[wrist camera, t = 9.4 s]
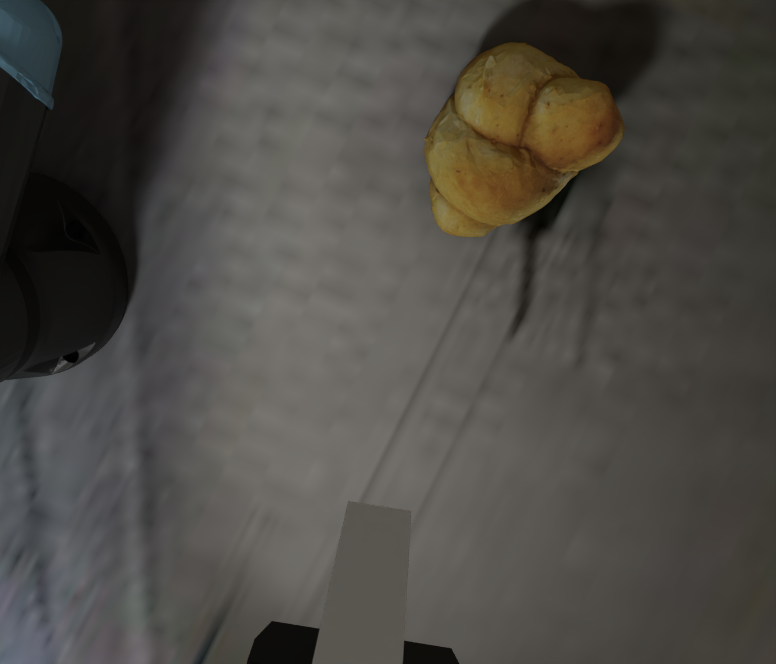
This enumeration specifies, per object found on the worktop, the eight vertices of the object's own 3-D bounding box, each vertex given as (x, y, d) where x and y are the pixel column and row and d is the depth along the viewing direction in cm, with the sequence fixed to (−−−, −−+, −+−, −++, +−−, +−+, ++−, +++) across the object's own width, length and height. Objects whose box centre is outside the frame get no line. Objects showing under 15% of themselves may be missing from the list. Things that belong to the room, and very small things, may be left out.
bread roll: (479, 260, 48) (486, 286, 41) (379, 165, 47) (367, 174, 39) (617, 121, 45) (653, 121, 37) (514, 14, 43) (529, -9, 36)
